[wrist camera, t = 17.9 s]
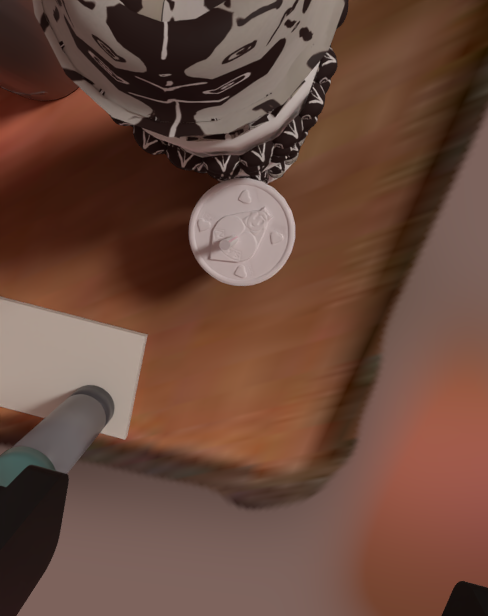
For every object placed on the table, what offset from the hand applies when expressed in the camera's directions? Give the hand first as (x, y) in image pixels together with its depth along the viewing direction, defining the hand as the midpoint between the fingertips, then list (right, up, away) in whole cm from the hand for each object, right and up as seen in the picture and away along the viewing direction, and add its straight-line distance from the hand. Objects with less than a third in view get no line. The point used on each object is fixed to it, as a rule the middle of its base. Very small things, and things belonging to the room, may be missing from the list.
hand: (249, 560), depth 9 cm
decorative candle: (0, +19, +25) cm, 31 cm away
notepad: (-17, 0, +30) cm, 35 cm away
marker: (-14, -4, +30) cm, 33 cm away
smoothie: (0, +12, +26) cm, 29 cm away
